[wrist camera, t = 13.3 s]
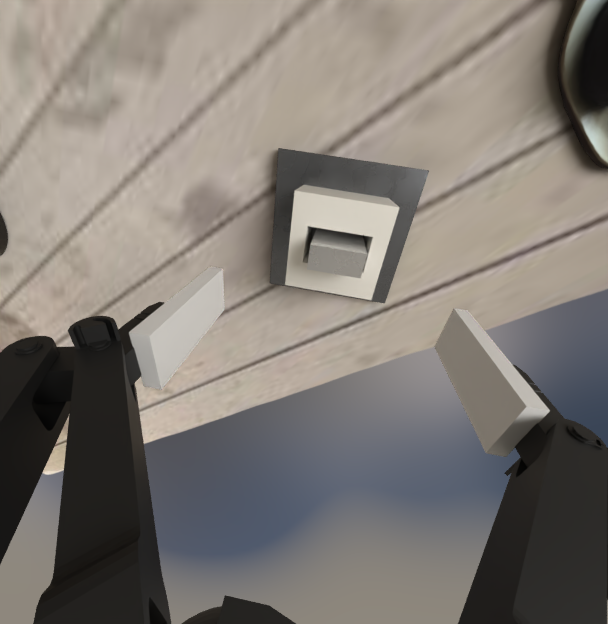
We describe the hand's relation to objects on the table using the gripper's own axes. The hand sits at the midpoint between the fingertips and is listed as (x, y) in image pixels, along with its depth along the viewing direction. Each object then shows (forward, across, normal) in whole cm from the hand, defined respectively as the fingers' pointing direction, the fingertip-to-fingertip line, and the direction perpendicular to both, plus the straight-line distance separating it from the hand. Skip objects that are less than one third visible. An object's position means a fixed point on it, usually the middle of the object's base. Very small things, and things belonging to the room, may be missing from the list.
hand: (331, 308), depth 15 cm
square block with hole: (+17, 0, 0) cm, 17 cm away
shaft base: (+18, 0, 0) cm, 19 cm away
